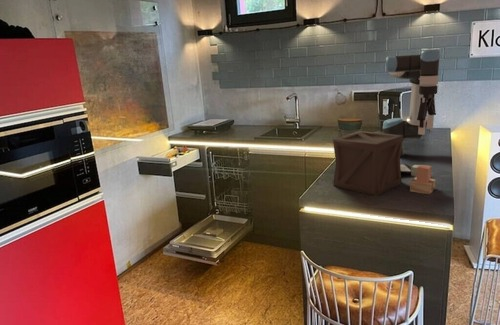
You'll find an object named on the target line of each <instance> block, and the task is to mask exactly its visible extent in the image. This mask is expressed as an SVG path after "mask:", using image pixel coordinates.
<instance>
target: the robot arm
mask: <svg viewBox="0 0 500 325" xmlns="http://www.w3.org/2000/svg"><path fill="white" fill-rule="evenodd" d="M440 53H441V52H440V50H439V49H425V50H422V51H421V53H420V54H409V55H408V54H407V55H392V56H391V55H390V56H387V57H386V59H385V60H386V61H385V72H386V73H388V74H389V75H390V77H392V78H395V79H400V80H409V83H410V84H411V91H410V103H409V113H408V114H409V115H408V116H407V117H406V120H403V118H402V117H394V118H389V119H386V120H384V121H383V123H382V124H383V125H382V133H385V134H394V135H404V136H403V140H412V139H413V140H415V139H416V140H424V139H425V138H427V136H428V134H429V130H433V129H434V120H435V119H434V118H435V117H434V116H436V115H437V112H436V104H435V96H436V95H437V94H438V88H439V87H438V84H439V69H440V59H441V55H440ZM403 156H405V150H404V146H403V145H402V149H401V155H400V157H403Z"/></svg>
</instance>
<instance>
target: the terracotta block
mask: <svg viewBox="0 0 500 325" xmlns="http://www.w3.org/2000/svg"><path fill="white" fill-rule="evenodd" d="M419 165H420V166H418V167H417V176H416V177H417V180H416V181H417V182H424V183H428V182H429V181H430V179H432V178H431V177H432V165H427V164H426V165H424V164H419Z"/></svg>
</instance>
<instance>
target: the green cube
mask: <svg viewBox="0 0 500 325" xmlns="http://www.w3.org/2000/svg"><path fill="white" fill-rule="evenodd" d="M420 165H421V164H413V165H412V166H411V169H412V172H410V173H411V174H410V176H411V177H417V167H418V166H420Z"/></svg>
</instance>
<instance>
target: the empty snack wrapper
mask: <svg viewBox="0 0 500 325" xmlns="http://www.w3.org/2000/svg"><path fill="white" fill-rule="evenodd" d="M400 168H401V173H412V166H410V165H408V164H405V163H403V164H400Z"/></svg>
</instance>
